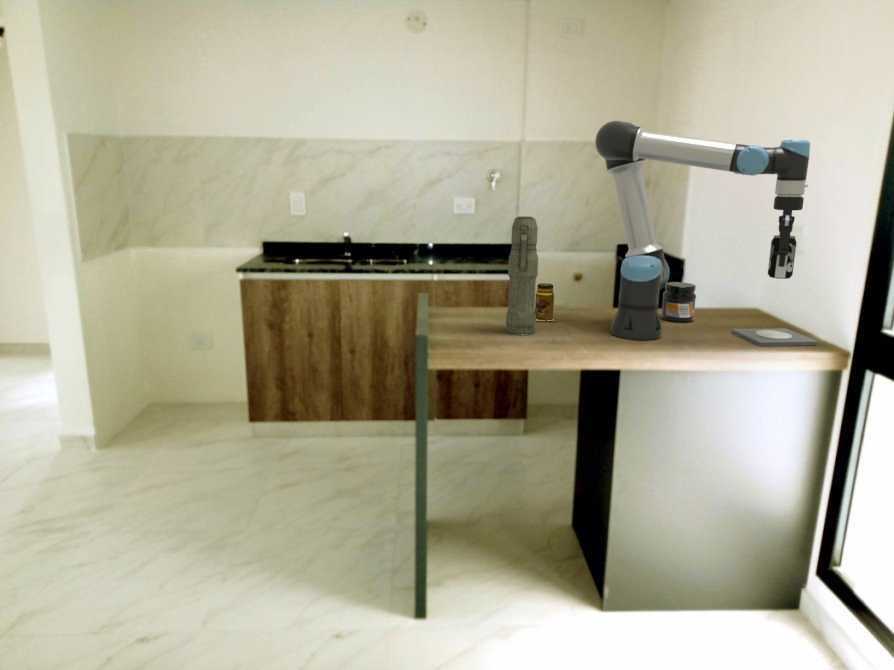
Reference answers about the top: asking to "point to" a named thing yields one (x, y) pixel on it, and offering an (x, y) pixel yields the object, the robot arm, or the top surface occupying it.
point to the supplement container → (678, 302)
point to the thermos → (522, 276)
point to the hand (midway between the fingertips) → (779, 275)
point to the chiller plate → (774, 337)
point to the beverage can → (774, 257)
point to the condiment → (544, 302)
